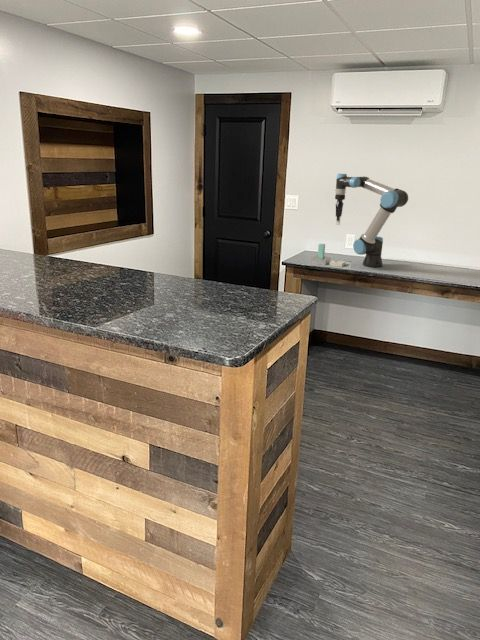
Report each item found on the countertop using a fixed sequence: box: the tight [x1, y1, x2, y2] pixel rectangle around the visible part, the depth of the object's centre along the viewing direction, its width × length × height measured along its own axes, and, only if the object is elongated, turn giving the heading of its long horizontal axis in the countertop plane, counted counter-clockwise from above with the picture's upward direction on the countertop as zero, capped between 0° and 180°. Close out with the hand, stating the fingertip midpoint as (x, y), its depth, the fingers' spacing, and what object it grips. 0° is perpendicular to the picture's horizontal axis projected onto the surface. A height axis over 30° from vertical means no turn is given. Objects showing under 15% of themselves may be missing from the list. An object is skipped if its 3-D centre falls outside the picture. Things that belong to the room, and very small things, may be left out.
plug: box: [317, 243, 326, 259], centre depth 401 cm, size 4×4×15 cm
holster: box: [328, 259, 347, 267], centre depth 396 cm, size 10×10×2 cm
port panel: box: [310, 254, 332, 266], centre depth 402 cm, size 12×12×5 cm
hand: (337, 224), depth 400 cm, fingers closed
